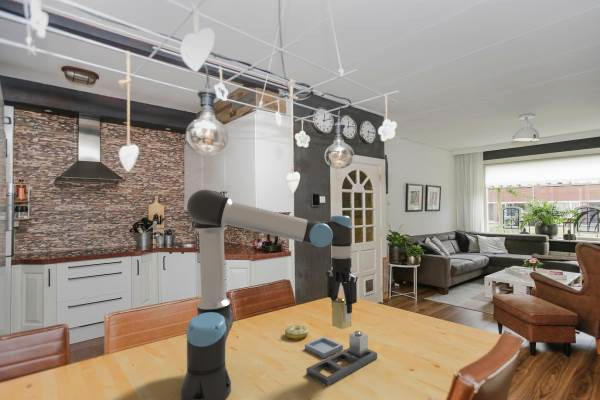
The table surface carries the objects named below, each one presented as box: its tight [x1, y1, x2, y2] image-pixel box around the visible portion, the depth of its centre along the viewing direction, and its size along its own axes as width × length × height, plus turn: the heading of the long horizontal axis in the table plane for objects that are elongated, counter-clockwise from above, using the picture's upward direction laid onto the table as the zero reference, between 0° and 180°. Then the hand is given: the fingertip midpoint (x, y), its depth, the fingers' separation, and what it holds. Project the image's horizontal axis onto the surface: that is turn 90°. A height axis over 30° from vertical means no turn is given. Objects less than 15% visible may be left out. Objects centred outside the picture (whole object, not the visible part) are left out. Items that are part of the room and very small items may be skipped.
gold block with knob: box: [331, 297, 352, 330], centre depth 115 cm, size 5×5×10 cm
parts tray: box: [304, 336, 344, 360], centre depth 127 cm, size 11×11×2 cm
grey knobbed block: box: [348, 330, 369, 359], centre depth 120 cm, size 5×5×10 cm
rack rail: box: [306, 347, 378, 387], centre depth 114 cm, size 28×10×2 cm, turn 132°
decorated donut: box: [284, 324, 310, 341], centre depth 141 cm, size 10×11×4 cm
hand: (341, 319), depth 115 cm, fingers closed on gold block with knob, 5 cm apart
